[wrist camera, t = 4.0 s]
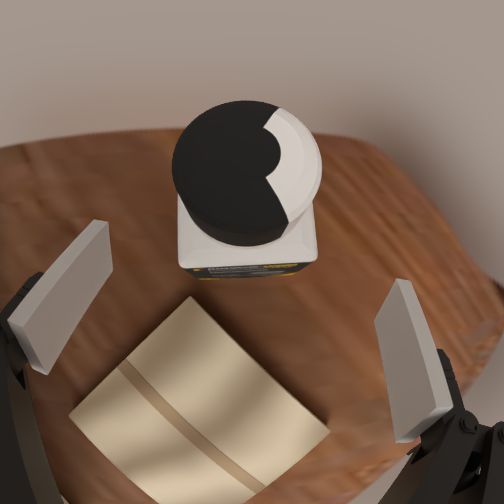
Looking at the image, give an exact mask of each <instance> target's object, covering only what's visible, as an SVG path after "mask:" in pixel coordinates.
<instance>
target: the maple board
mask: <svg viewBox="0 0 504 504" xmlns="http://www.w3.org/2000/svg"><path fill="white" fill-rule="evenodd" d="M68 416H69V417H70V418H71V420H72V421H73V422H74V423H75V424H76V425H77V426H78V428H79V429H80V430H81V431H82V432H83V433H84V434H85V435H86V436H87V438H88V439H89V440H90V441H91V442H92V443H93V444H94V445H95V446H96V447H97V448H98V449H99V450H100V451H101V452H102V453H103V454H104V455H105V456H106V457H107V458H108V459H109V460H110V461H111V462H112V463H113V464H114V465H115V466H116V467H117V468H118V469H119V470H120V471H122V472H123V473H124V474H125V475H126V476H127V477H128V478H129V479H130V480H131V481H133V482H134V483H135V484H136V485H137V486H138V487H140V488H141V489H142V490H143V491H144V492H145V493H147V494H148V495H149V496H150V497H152V498H153V499H154V500H155V501H157V502H158V503H159V504H243V503H244V502H246V501H247V500H248V499H250V498H251V497H253V496H254V495H255V494H257V493H258V492H260V491H261V490H263V489H264V488H265V487H266V486H268V485H269V484H270V483H271V482H273V481H274V480H275V479H277V478H278V477H279V476H280V475H282V474H283V473H284V472H285V471H287V470H288V469H289V468H290V467H292V466H293V465H294V464H295V463H296V462H298V461H299V460H300V459H301V458H302V457H303V456H305V455H306V454H307V453H308V452H309V451H310V450H311V449H313V448H314V447H315V446H316V445H317V444H318V443H319V442H320V441H321V440H322V439H324V438H325V437H326V436H327V435H328V434H329V433H330V432H331V431H330V429H329V428H328V427H327V426H326V425H325V424H324V423H323V422H322V421H321V420H319V419H318V418H317V417H316V416H315V415H314V414H313V413H311V412H310V411H309V410H308V409H307V408H306V407H305V406H304V405H303V404H301V403H300V402H299V401H298V400H297V399H296V398H295V397H294V396H293V395H292V394H290V393H289V392H288V391H287V390H286V389H285V388H284V387H283V386H282V385H281V384H280V383H279V382H277V381H276V380H275V379H274V378H273V377H272V376H271V375H270V374H269V373H268V372H267V371H266V370H265V369H264V368H263V367H262V366H261V365H260V364H259V363H258V362H256V361H255V360H254V359H253V358H252V357H251V356H250V355H249V354H248V353H247V352H246V351H245V350H244V349H243V348H242V347H241V346H240V345H239V344H238V343H237V342H236V341H235V340H234V339H233V338H232V337H231V336H230V335H229V334H228V333H227V332H226V331H225V330H224V329H223V328H222V327H221V326H220V325H219V324H218V323H217V322H216V321H215V320H214V319H213V318H212V317H211V315H210V314H209V313H208V312H207V311H206V310H205V309H204V308H203V307H202V306H201V305H200V304H199V303H198V302H197V301H196V300H195V299H194V298H193V297H192V296H189V297H188V298H187V299H186V300H185V301H184V302H183V303H182V304H181V305H180V306H179V307H178V308H177V309H176V310H175V311H174V312H173V313H172V314H171V315H170V316H169V317H168V318H167V319H166V320H165V321H163V322H162V323H161V324H160V325H159V326H158V327H157V328H156V329H155V330H154V331H153V332H152V333H151V334H150V335H149V336H148V337H147V338H146V339H145V340H144V341H143V342H142V343H141V344H140V345H139V346H138V347H137V348H136V349H135V350H134V351H133V352H132V353H131V354H130V355H129V356H128V357H127V358H125V359H124V360H123V361H122V362H121V363H120V364H119V365H118V366H117V367H116V368H115V369H114V370H113V371H112V372H111V373H110V374H109V375H108V376H107V377H106V378H105V379H104V380H103V381H102V382H101V383H100V384H99V385H98V386H97V387H96V388H95V389H94V390H93V391H92V392H91V393H90V394H89V395H88V396H87V397H86V398H85V399H84V400H83V401H82V402H81V403H80V404H79V405H78V406H77V407H76V408H75V409H74V410H73V411H72V412H71V413H70V414H69V415H68Z"/></svg>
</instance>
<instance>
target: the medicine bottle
mask: <svg viewBox="0 0 504 504" xmlns="http://www.w3.org/2000/svg"><path fill="white" fill-rule="evenodd" d="M172 175H173V181H174V184H175V187H176V190H177V192H178V262H179V265H180V266H181V267H182V268H183V269H185V270H186V271H187V272H189V273H190V274H191V275H193V276H194V277H195V278H197V279H199V280H208V279H228V278H247V277H265V276H282V275H293V274H295V273H297V272H298V271H300V270H301V269H303V268H304V267H306V266H307V265H309V264H310V263H312V262H313V261H315V260H316V258H317V256H318V251H317V241H316V231H315V222H314V213H313V204H312V200H313V199H314V197H315V195H316V193H317V190H318V188H319V185H320V181H321V176H322V162H321V155H320V152H319V148H318V146H317V143H316V141H315V139H314V137H313V136H312V134H311V133H310V131H309V130H308V129H307V128H306V126H305V125H304V124H303V123H302V122H301V121H300V120H298V119H297V118H296V117H295V116H293V115H292V114H291V113H289V112H287V111H285V110H284V109H282V108H279V107H277V106H274V105H271V104H268V103H264V102H258V101H234V102H229V103H224V104H221V105H218V106H215V107H213V108H212V109H209V110H207V111H205V112H204V113H202V114H201V115H199V116H198V117H197V118H196V119H194V120H193V121H192V122H191V123H190V124H189V125H188V126H187V127H186V129H185V130H184V131H183V133H182V134H181V136H180V138H179V140H178V142H177V144H176V147H175V150H174V153H173V159H172Z"/></svg>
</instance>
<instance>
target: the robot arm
mask: <svg viewBox="0 0 504 504" xmlns="http://www.w3.org/2000/svg"><path fill="white" fill-rule="evenodd" d="M112 271H113V264H112V256H111V247H110V237H109V226H108V222H105V221H100V220H95V219H94V220H93V221H92V222H91V223H90V224H89V225H88V226H87V227H86V228H85V229H84V230H83V231H82V232H81V234H80V235H79V236H78V237H77V238H76V239H75V240H74V241H73V242H72V243H71V244H70V245H69V246H68V247H67V249H66V250H65V251H64V252H63V253H62V254H61V255H60V256H59V257H58V259H57V260H56V261H55V262H54V263H53V264H52V265H51V267H50V268H49V269H48V270H47V271H46V272H45V273H42V272H38V273H36V274H35V275H33V276H32V277H30V278H29V279H28V280H27V281H26V282H25V284H24V285H23V286H22V288H20V290H19V291H18V292H17V293H16V295H15V296H14V297H13V298H12V299H11V301H10V302H9V303H8V304H7V306H6V307H5V308H4V309H3V311H2V312H1V313H0V504H64V502H63V499H62V497H61V494H60V492H59V489H58V487H57V484H56V482H55V479H54V476H53V473H52V470H51V468H50V465H49V462H48V459H47V455H46V452H45V449H44V446H43V442H42V439H41V435H40V432H39V428H38V424H37V420H36V416H35V412H34V408H33V403H32V399H31V394H30V389H29V384H28V378H27V372H26V369H25V367H24V365H25V364H26V362H27V360H28V361H29V363H30V365H31V367H32V368H33V369H34V370H36V371H39V372H41V373H43V374H45V375H47V376H48V374H49V372H50V371H51V369H52V367H53V365H54V364H55V362H56V360H57V358H58V357H59V355H60V353H61V351H62V350H63V348H64V346H65V345H66V343H67V341H68V340H69V338H70V336H71V335H72V333H73V331H74V330H75V328H76V326H77V325H78V323H79V322H80V320H81V318H82V317H83V315H84V314H85V312H86V310H87V309H88V307H89V306H90V304H91V303H92V301H93V300H94V298H95V297H96V295H97V294H98V292H99V290H100V289H101V287H102V286H103V285H104V283H105V282H106V280H107V279H108V277H109V276H110V274H111V273H112ZM374 325H375V329H376V334H377V339H378V343H379V348H380V353H381V358H382V363H383V368H384V374H385V379H386V385H387V390H388V396H389V402H390V409H391V415H392V422H393V429H394V437H395V443H403V442H412V441H414V440H415V439H416V438H417V437H419V436H420V437H421V443H420V444H418V445H417V446H416V447H414V448H413V449H411V450H410V451H409V452H408V453H407V455H410V454H411V453H413V454H412V455H411V457H410V458H409V460H408V462H407V463H406V465H405V467H404V468H403V469H402V471H401V472H400V474H399V475H398V477H397V478H396V480H395V481H394V482H393V484H392V485H391V487H390V488H389V489H388V491H387V492H386V494H385V495H384V496H383V498H382V499H381V500H380V502H379V503H378V504H504V422H502V421H501V422H498V423H496V424H495V425H494V426H493V427H488V426H484V425H481V424H479V422H478V420H477V418H476V417H475V416H474V415H473V414H472V413H471V412H469V411H466V410H465V408H464V405H463V401H462V398H461V394H460V391H459V388H458V384H457V381H456V380H455V375H454V372H453V371H452V370H453V369H452V366H451V363H450V360H449V358H448V357H447V355H446V354H445V352H444V351H443V350H442V349H436V347H435V344H434V341H433V338H432V336H431V333H430V330H429V327H428V325H427V322H426V319H425V316H424V314H423V311H422V309H421V306H420V304H419V301H418V298H417V296H416V294H415V291H414V289H413V286H412V284H411V281H408V280H403V279H398V278H396V280H395V282H394V284H393V286H392V288H391V290H390V292H389V294H388V295H387V297H386V299H385V301H384V303H383V305H382V307H381V308H380V310H379V312H378V314H377V316H376V317H375V319H374ZM480 468H481V470H480ZM479 470H480V474H479Z"/></svg>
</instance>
